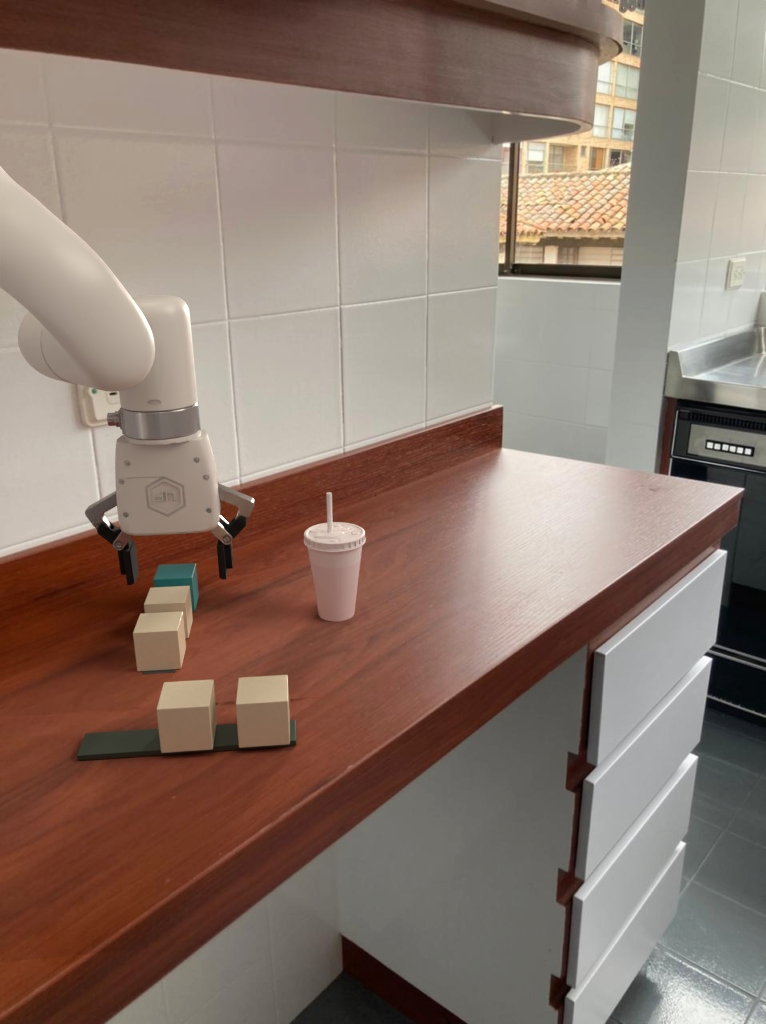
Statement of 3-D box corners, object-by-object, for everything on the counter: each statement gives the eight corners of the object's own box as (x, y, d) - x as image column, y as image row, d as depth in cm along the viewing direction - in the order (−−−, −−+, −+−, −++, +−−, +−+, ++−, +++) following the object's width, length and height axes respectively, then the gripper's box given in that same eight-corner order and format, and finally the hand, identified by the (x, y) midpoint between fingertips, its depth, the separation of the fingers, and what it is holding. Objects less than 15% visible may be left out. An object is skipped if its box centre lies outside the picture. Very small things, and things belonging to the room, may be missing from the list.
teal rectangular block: (156, 614, 87) (153, 579, 85) (162, 598, 90) (158, 564, 89) (195, 612, 87) (191, 577, 86) (198, 596, 91) (195, 563, 89)
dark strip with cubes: (75, 765, 63) (68, 714, 62) (87, 734, 67) (80, 686, 65) (296, 749, 65) (294, 700, 63) (295, 720, 69) (293, 673, 67)
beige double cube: (136, 679, 75) (131, 635, 74) (163, 600, 91) (159, 562, 89) (181, 676, 75) (176, 632, 74) (199, 598, 91) (196, 561, 90)
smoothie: (294, 615, 87) (289, 490, 83) (342, 598, 91) (339, 478, 86) (330, 637, 83) (326, 506, 78) (379, 618, 86) (378, 492, 82)
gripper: (63, 435, 78) (88, 597, 84) (246, 427, 79) (258, 587, 85) (82, 417, 85) (103, 568, 91) (250, 410, 86) (260, 559, 92)
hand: (179, 577), depth 88 cm, fingers open, 9 cm apart
